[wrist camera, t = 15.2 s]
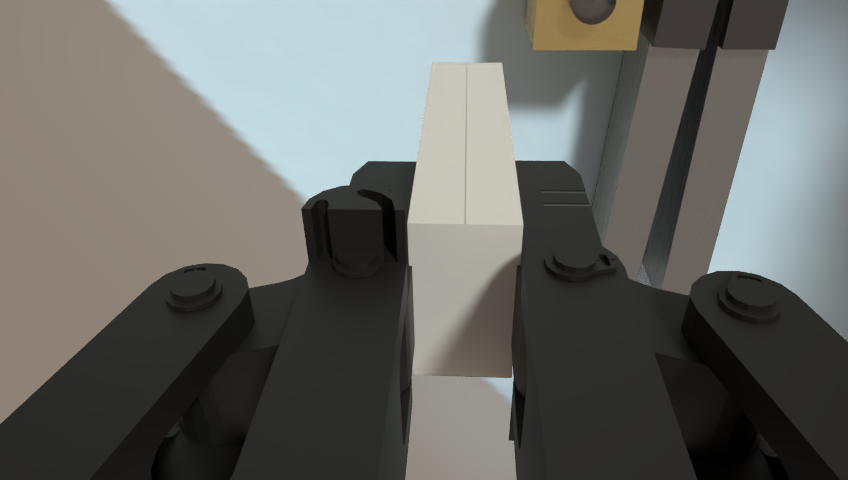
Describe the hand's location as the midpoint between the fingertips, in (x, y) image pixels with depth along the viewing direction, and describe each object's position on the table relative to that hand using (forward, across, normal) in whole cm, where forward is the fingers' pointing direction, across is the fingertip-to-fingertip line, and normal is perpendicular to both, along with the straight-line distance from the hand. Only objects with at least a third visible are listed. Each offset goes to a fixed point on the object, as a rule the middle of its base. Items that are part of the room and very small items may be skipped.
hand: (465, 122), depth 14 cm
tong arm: (+16, +8, -6) cm, 19 cm away
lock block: (+16, +5, 0) cm, 17 cm away
